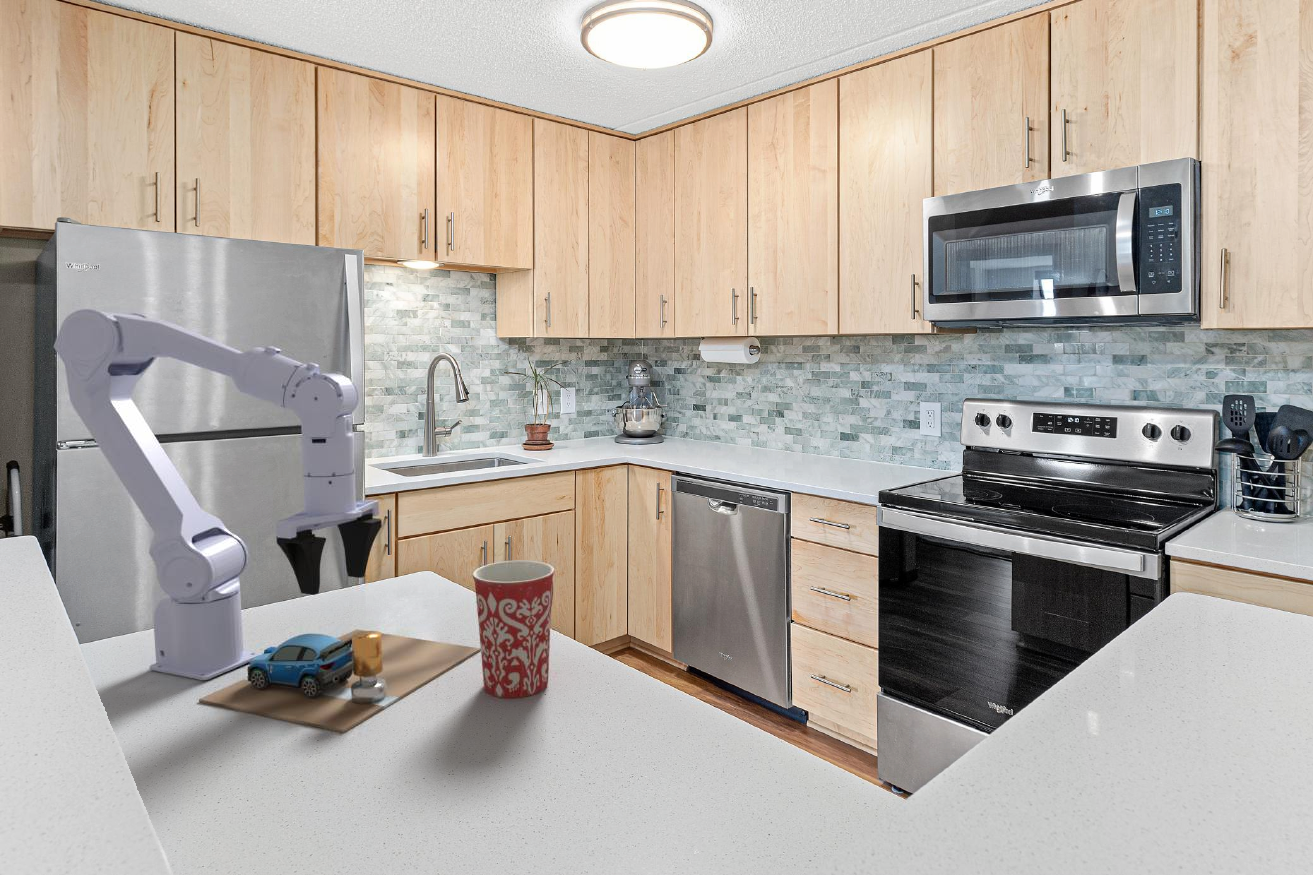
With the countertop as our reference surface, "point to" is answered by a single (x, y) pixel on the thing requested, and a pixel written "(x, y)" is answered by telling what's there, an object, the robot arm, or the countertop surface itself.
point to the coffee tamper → (367, 668)
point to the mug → (514, 626)
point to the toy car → (303, 664)
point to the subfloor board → (348, 686)
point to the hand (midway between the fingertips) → (333, 584)
